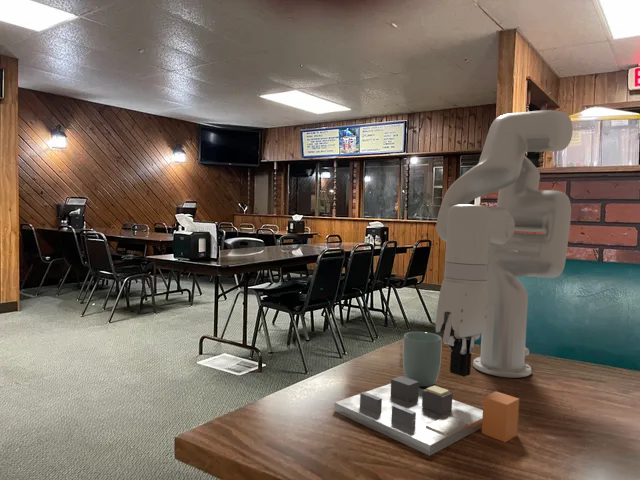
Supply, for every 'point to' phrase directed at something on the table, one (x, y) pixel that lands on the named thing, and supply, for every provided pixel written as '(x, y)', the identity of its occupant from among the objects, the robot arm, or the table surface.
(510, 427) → the cap
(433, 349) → the cup
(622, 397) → the table surface
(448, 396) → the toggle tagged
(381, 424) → the panel
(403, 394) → the toggle
